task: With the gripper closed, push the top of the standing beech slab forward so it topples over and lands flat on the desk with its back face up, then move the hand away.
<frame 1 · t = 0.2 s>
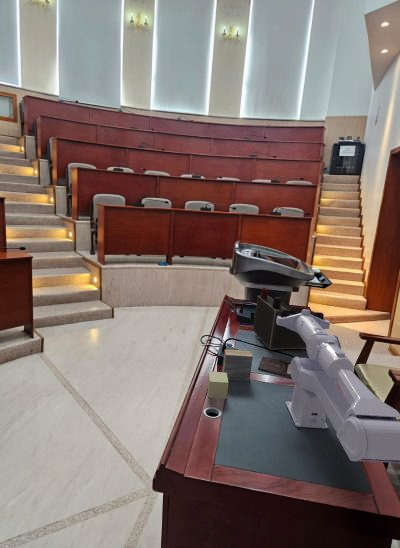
hand: (293, 311, 99), 21 cm above the table, tool horizontal, fingers open, 7 cm apart
beech slab: (235, 376, 100), on the table
olive cube: (216, 393, 91), on the table
voltmeter: (279, 342, 127), on the table
chocolate bar: (287, 371, 107), on the table
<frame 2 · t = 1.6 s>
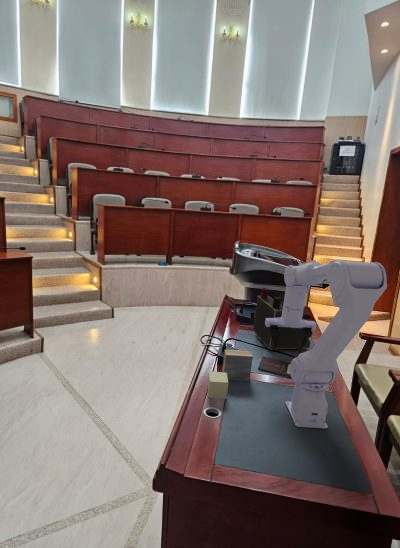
hand: (286, 349, 97), 10 cm above the table, tool pointing down, fingers open, 7 cm apart
nothing on the table moved.
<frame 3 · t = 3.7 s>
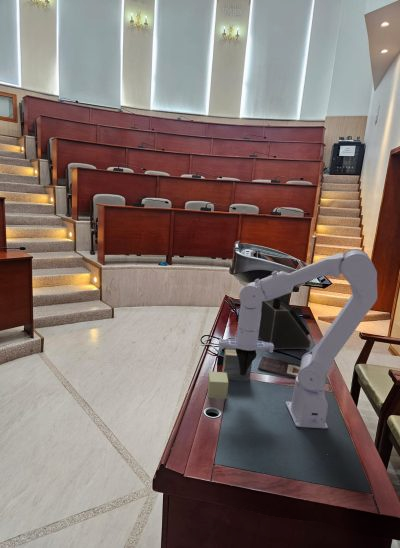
hand: (242, 373, 90), 6 cm above the table, tool pointing down, fingers closed
nothing on the table moved.
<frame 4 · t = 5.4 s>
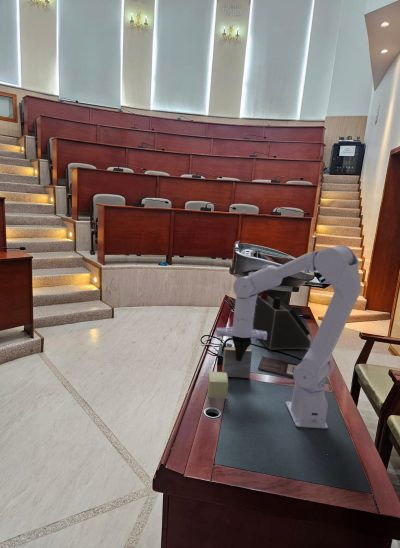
hand: (238, 359, 97), 6 cm above the table, tool pointing down, fingers closed, pressing on beech slab
beech slab: (235, 375, 100), on the table, tilted 15°, touching gripper
everything else where it was.
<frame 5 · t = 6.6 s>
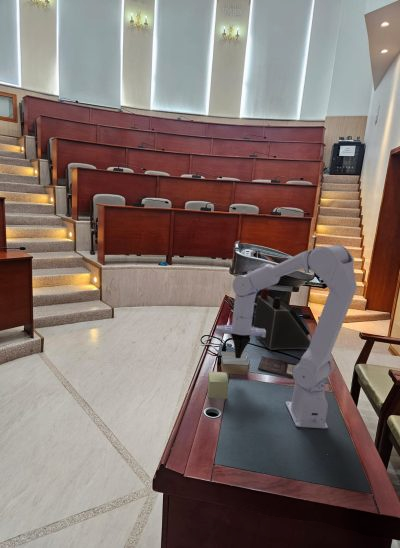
hand: (237, 356, 99), 6 cm above the table, tool pointing down, fingers closed
beech slab: (235, 369, 101), point 1 cm above the table, tilted 90°
everything else where it was.
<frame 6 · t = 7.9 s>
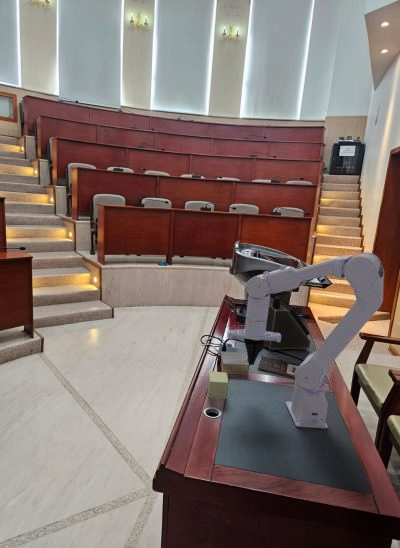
hand: (250, 363, 92), 8 cm above the table, tool pointing down, fingers closed
nothing on the table moved.
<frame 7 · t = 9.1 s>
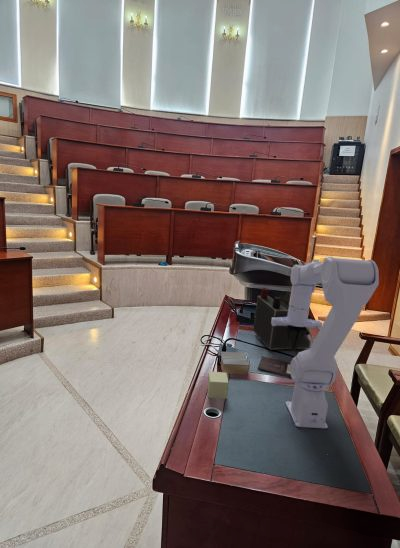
hand: (292, 348, 98), 10 cm above the table, tool pointing down, fingers closed
nothing on the table moved.
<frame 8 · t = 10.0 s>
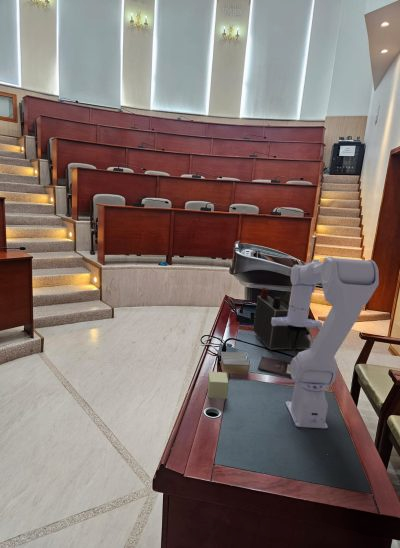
hand: (292, 348, 98), 10 cm above the table, tool pointing down, fingers closed
nothing on the table moved.
at the end: beech slab tilted 90°; beech slab inside the target area (7.3 cm from its centre), point 1.2 cm above the table; beech slab moved 2.1 cm from its start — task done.
